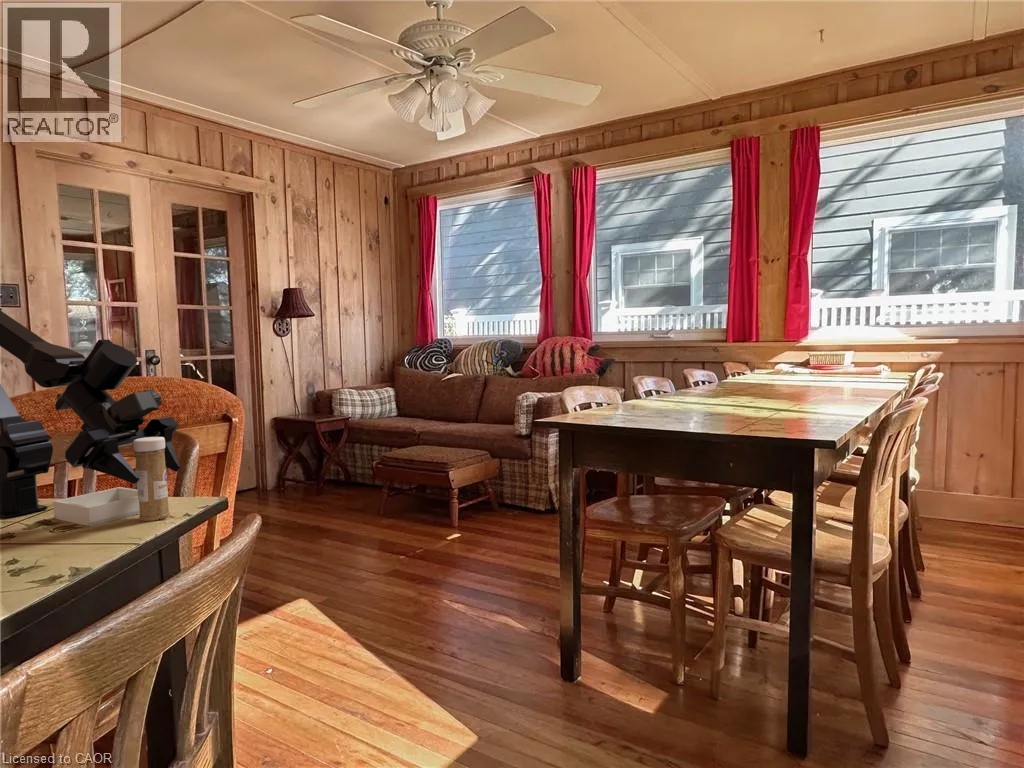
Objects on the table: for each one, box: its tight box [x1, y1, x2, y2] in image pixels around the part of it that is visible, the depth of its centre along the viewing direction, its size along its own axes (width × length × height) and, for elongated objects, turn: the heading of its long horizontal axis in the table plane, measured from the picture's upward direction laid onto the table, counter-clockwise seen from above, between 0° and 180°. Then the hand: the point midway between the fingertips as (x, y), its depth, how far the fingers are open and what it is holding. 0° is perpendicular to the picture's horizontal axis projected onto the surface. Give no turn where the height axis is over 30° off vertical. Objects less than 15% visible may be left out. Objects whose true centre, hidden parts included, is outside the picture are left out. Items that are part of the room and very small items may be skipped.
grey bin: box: [52, 486, 140, 527], centre depth 109 cm, size 11×11×3 cm
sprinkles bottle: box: [132, 437, 171, 522], centre depth 106 cm, size 5×5×13 cm
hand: (158, 475), depth 105 cm, fingers open, 9 cm apart
